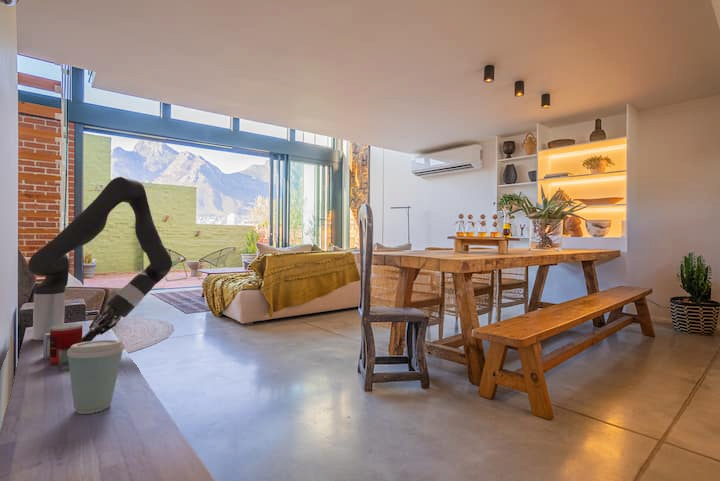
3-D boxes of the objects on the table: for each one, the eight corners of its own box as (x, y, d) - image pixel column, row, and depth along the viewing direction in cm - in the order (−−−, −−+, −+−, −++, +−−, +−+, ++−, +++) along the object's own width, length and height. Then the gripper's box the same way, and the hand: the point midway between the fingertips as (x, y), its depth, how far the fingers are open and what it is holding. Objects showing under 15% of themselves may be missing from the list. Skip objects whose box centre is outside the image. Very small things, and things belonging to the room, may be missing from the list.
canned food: (87, 357, 120) (88, 323, 120) (66, 365, 112) (67, 329, 112) (65, 357, 120) (65, 322, 121) (42, 364, 112) (43, 328, 113)
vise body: (55, 368, 110) (55, 349, 110) (88, 361, 117) (89, 343, 117) (61, 372, 106) (61, 353, 106) (95, 365, 113) (96, 347, 113)
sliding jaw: (38, 353, 123) (38, 330, 124) (64, 349, 129) (64, 327, 129) (46, 359, 118) (46, 335, 118) (73, 354, 123) (73, 331, 123)
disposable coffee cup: (65, 405, 85) (67, 339, 85) (121, 394, 92) (122, 333, 92) (64, 423, 77) (66, 350, 77) (125, 410, 83) (127, 342, 83)
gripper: (109, 291, 132) (66, 333, 122) (125, 295, 124) (80, 339, 114) (126, 304, 136) (85, 345, 126) (142, 309, 128) (100, 353, 118)
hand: (83, 342), depth 120 cm, fingers closed
